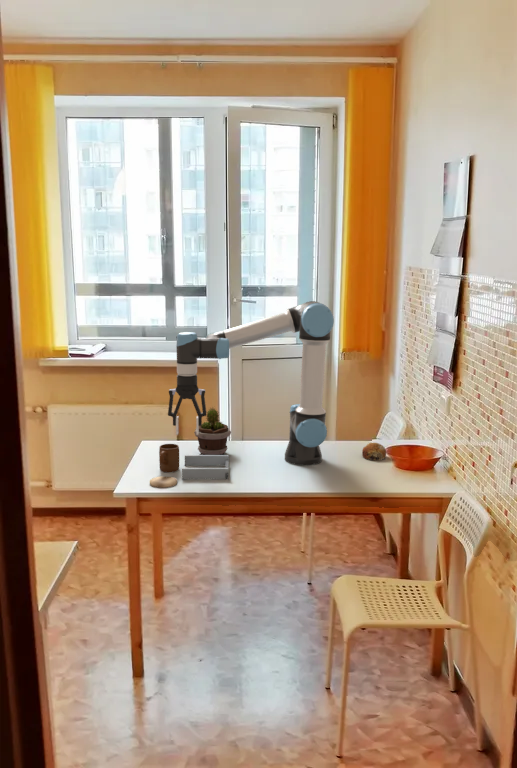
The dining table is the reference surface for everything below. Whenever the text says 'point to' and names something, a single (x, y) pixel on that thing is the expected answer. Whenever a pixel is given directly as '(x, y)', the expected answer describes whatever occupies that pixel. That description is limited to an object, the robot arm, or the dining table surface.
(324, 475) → the dining table surface
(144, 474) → the dining table surface
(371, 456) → the bread roll
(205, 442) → the flowerpot
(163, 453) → the mug
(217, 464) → the u-shaped frame
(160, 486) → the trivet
